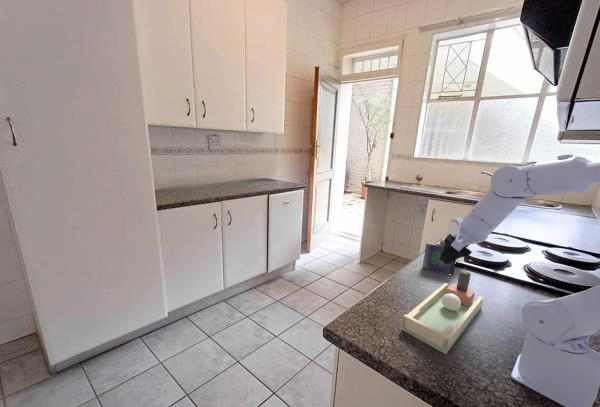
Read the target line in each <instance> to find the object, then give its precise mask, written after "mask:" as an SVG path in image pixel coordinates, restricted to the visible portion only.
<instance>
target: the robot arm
mask: <svg viewBox="0 0 600 407" xmlns="http://www.w3.org/2000/svg"><path fill="white" fill-rule="evenodd" d="M596 184H600V160H599V161H594V162H592V161H590V160H589V159H587V158H585V157H583V156H574V155H573V154H568V153H566V154H562V155H557V159H555V160H550V161H549V160H548V161H543V162H537V161H527V162H526V163H525V165H524V166H515V165H511V164H509V165H505V166H503V167H499V168H498V169H497V170H495V171H494V172H493V174H492V176H491V178H490V187H489V188H488V190H486V192H485V193H484V195H482V196H481V198H480V199H479V200H478V201H477V203H475V205H474V206H473V207H472V208H471V209H470V211H469V212H468V213H467V214H466V216H465V217H464V218H462V217H459V216H458V217H457V218H455V219H456V220H455V223H456V224H458V228H457V235H456V238H455V237H454V236H452V235H451V234H449V235H448V236H445V238H444V243H445V245H444V249H443V251H442V253H441V256H440V260H441V261H443V262H444V263H445V264H450V263H451V262H453V261H455V260H456V259H458V258H461V257H464V258H466V257H469V256H470V255H471V254H472V253H473V252H472V251H471V250H470V249H469V248H468V247H469V246H470V245H474V244H480V243H483V242H485V241H486V240H487V239H488V237H489V236H490V234H491V233H492V232H493V231H495V229H497V228H498V227H499V226H500V225H501V223H502V222H504V220H506V218H507V217H508V216H510V214H511V213H512V212H514V211H515V209H516V208H517V207H518V206H519V205H520V204H522V203H523V202H524V201H525V200H526V199H530V198H534V197H537V196H539V197H540V196H552V195H553V196H554V195H570V194H583V193H587V191H589V190H590V189H592V187H594V186H595V185H596ZM466 247H467V248H466ZM521 317H522V318H521V319H522V321H523V324H524V326H525V327H526V334H525V339H524V342H523V345H522V349H521V353H520V354H518V356H517V359H516V361H515V364H514V367H513V369H512V372H511V374H510V377H511V378H512V379H513V380H514V381H516V382H518V383H519V384H522V385H523V386H525V387H527V388H528V389H531V390H533V391H534V392H537V393H538V394H540V395H542V396H544V397H546V398H548V399H550V401H551V400H552V401H553V402H556V403H558V405H561V406H563V407H593V405H594V402H595V401H596V399H597V397H598V393H599V388H600V352H598V351H596V350H595V349H593V348H591V347H590V344H589V343H590V338H591V336H592V337H593V336H596V335H600V284H599V285H595V286H593V287H591V288H588V289H586V290H583V291H579V292H576V293H573V294H569V295H565V296H562V297H557V298H550V299H545V300H543V299H542V300H535V299H534V300H531V301H528V302H526V304H524V306H522V309H521Z"/></svg>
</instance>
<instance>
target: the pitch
mask: <svg viewBox="0 0 600 407" xmlns="http://www.w3.org/2000/svg"><path fill="white" fill-rule="evenodd" d="M448 287H449V283H447V282H444V283H443V284H442V285H441V286H439V287H438V288H437V289H436V290H434V291H433V293H431V294H430V295H429V296H427V297H426V298H425V299H423V301H421V302H420V303H419V304H418V305H417V306H415V308H413V309H412V310H411V311H410V312H408V314H406V313H405V314H404V315H403V320H402V327H401V330H402V331H404V332H405V333H407V334H409V335H411V336H412V337H414V338H416V339H418V340H419V341H421V342H422V343H425V344H426V345H428V346H430V347H432V348H433V349H434V350H435V349H436V350H437V351H439V352H441V353H442V354H444V355H447V354H448V352H449V351H450V350H451V348H453V346H454V344H455V343H456V342H457V341H458V339H459V338H460V336H461V335H462V334H463V333H464V332H465V330H466V329H467V327H468V326H469V325H470V323H471V322H472V321H473V320H474V318H475V317H476V315H477V314H478V313H479V312H480V311H481V309H482V306H483V301H484V296H481V295H479V296H478V297H477V299H475V300H473V301H472V302H471V304H470V305H469V306H466V305H463V304H461V306H460V308H459V309H458V310H456V311H450V310H448V309H446V308H445V307H444V306H443V304H442V298H443V296H444V295H445V294H446V292H447V288H448Z"/></svg>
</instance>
